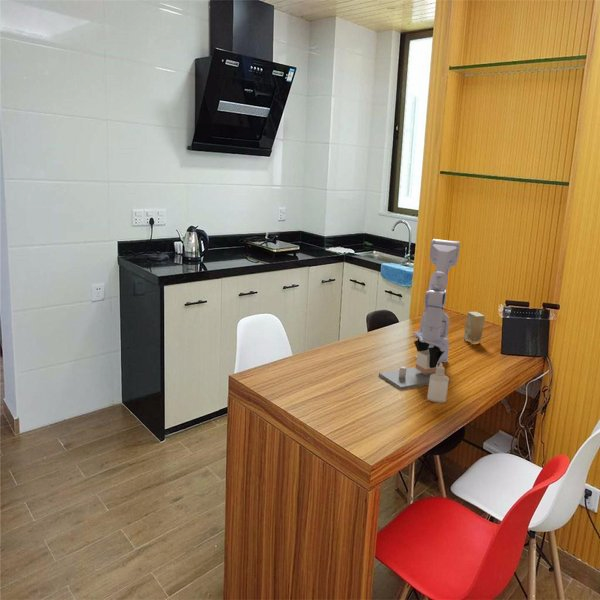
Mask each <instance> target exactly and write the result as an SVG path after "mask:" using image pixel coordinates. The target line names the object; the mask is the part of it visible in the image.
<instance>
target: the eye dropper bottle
mask: <svg viewBox="0 0 600 600" xmlns="http://www.w3.org/2000/svg"><path fill="white" fill-rule="evenodd" d="M445 369H446V368H445V367H444V366H443V363H439V364H438V366H437V368H436V374H432V375H430V380H429V385H428V389H427V395H426V396H427V397H426V399H427V400H428V401H430V402H433V403H439V404H440V403H442V404H443V403H446V402H447V397H448V388H449V382H450V380H449V379H450V378H449V377H448V376H447V375H446V374H445Z"/></svg>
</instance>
